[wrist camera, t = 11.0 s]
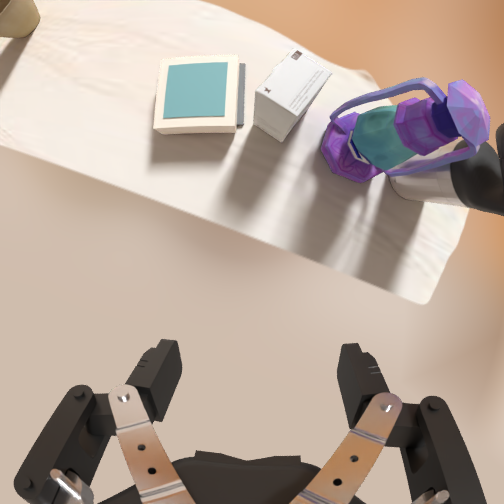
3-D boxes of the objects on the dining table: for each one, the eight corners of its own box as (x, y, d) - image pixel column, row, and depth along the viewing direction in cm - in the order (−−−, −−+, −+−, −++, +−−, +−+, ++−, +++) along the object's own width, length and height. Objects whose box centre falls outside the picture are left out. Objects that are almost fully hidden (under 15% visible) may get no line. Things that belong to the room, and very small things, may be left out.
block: (236, 132, 41) (239, 67, 38) (234, 125, 36) (238, 54, 33) (163, 134, 41) (169, 70, 38) (152, 128, 36) (160, 58, 33)
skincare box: (281, 143, 42) (297, 122, 27) (250, 123, 41) (252, 92, 27) (309, 106, 41) (336, 73, 26) (279, 86, 40) (293, 45, 25)
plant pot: (60, 3, 31) (29, -23, 16) (27, 50, 34) (-11, 32, 18) (33, 5, 29) (4, -15, 14) (4, 48, 32) (-30, 34, 17)
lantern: (394, 153, 42) (529, 133, 13) (358, 200, 44) (493, 223, 15) (340, 101, 40) (444, 15, 11) (300, 147, 42) (387, 81, 13)
